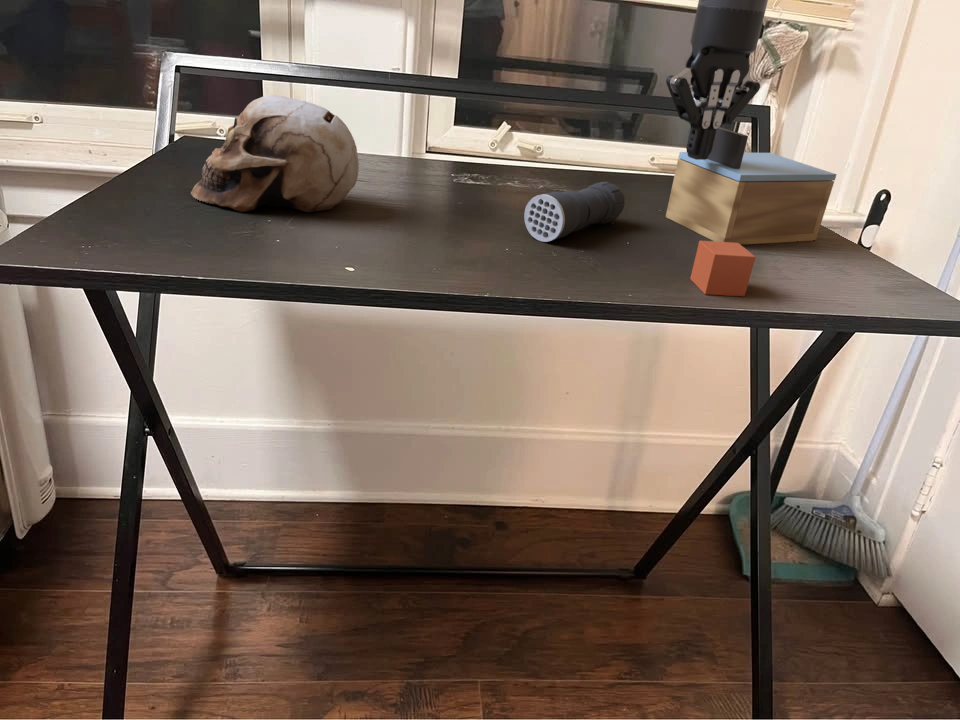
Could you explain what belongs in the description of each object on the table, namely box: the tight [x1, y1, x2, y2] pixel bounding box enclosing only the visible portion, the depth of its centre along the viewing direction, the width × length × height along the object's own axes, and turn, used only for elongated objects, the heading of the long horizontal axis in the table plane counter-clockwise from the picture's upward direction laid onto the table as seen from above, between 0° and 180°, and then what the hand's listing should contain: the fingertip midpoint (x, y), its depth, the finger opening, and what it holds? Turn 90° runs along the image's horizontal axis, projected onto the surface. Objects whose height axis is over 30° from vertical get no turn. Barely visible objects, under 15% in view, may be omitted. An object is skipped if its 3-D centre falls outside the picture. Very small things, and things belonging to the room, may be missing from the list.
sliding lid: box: [678, 126, 837, 182], centre depth 97 cm, size 12×16×5 cm
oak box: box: [665, 158, 835, 246], centre depth 99 cm, size 12×16×8 cm
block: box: [689, 240, 756, 297], centre depth 78 cm, size 4×4×4 cm
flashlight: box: [523, 181, 625, 243], centre depth 92 cm, size 15×5×5 cm, turn 140°
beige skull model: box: [190, 94, 360, 213], centre depth 89 cm, size 16×17×13 cm
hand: (697, 158), depth 93 cm, fingers closed
